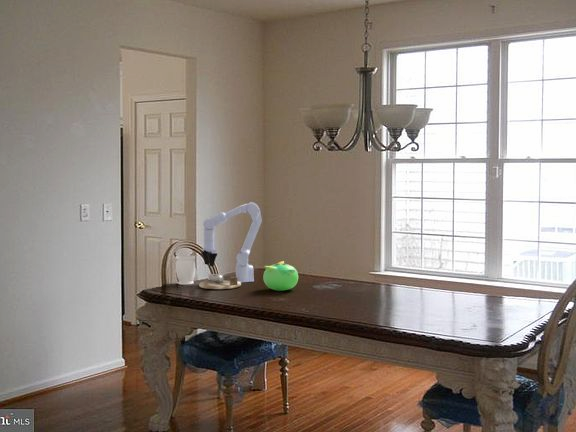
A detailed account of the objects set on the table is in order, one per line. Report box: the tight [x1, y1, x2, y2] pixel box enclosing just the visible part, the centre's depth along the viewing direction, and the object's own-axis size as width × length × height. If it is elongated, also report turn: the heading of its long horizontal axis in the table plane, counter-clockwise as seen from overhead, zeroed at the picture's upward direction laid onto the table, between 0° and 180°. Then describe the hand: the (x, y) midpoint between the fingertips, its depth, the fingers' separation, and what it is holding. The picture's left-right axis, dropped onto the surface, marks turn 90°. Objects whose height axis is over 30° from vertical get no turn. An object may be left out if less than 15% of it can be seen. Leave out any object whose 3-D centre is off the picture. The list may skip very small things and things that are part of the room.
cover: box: [207, 273, 224, 283], centre depth 387 cm, size 8×8×4 cm
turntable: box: [198, 276, 242, 290], centre depth 381 cm, size 22×22×5 cm
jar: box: [175, 254, 196, 286], centre depth 391 cm, size 11×10×15 cm
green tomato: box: [262, 260, 299, 292], centre depth 367 cm, size 18×17×15 cm
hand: (209, 265), depth 394 cm, fingers open, 7 cm apart
